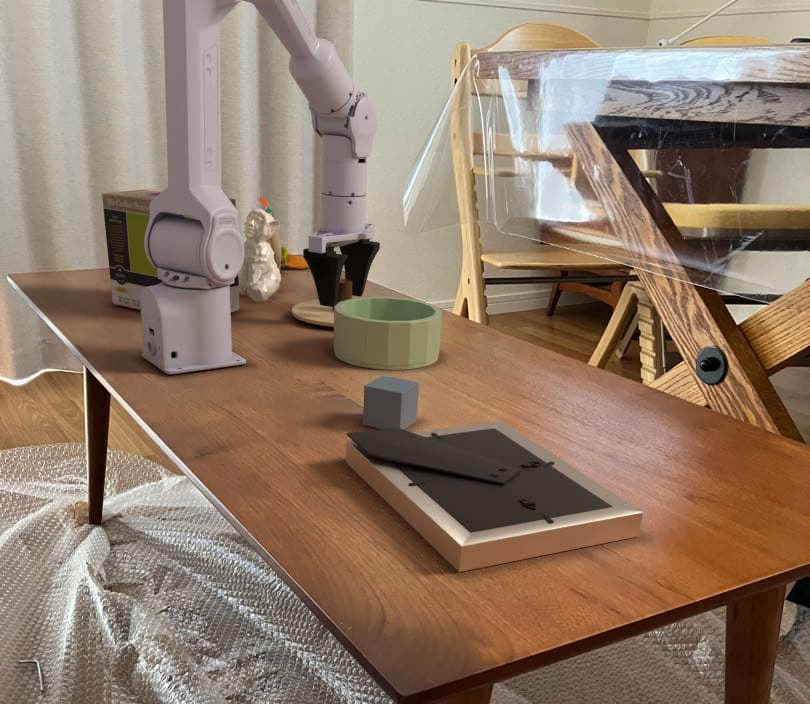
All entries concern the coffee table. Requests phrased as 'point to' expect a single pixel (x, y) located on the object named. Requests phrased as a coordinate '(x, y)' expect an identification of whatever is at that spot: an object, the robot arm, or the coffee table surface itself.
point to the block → (390, 403)
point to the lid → (322, 307)
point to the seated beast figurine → (259, 257)
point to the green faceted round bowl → (387, 332)
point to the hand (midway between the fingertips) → (341, 300)
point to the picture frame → (488, 493)
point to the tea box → (135, 247)
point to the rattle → (281, 252)
